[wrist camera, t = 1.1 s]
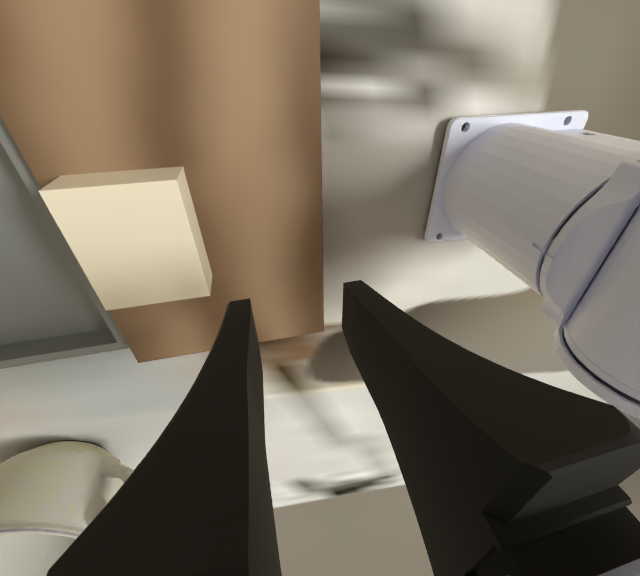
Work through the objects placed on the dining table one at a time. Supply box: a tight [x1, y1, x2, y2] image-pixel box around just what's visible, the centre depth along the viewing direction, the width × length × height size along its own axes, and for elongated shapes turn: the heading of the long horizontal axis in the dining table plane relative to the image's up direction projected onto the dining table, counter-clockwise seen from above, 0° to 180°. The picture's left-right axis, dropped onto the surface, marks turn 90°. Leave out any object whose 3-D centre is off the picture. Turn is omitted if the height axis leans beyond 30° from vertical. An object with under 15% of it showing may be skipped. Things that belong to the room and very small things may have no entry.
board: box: [0, 0, 324, 363], centre depth 17 cm, size 12×18×2 cm
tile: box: [39, 166, 212, 311], centre depth 15 cm, size 5×6×2 cm
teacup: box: [0, 441, 133, 576], centre depth 25 cm, size 14×11×8 cm
